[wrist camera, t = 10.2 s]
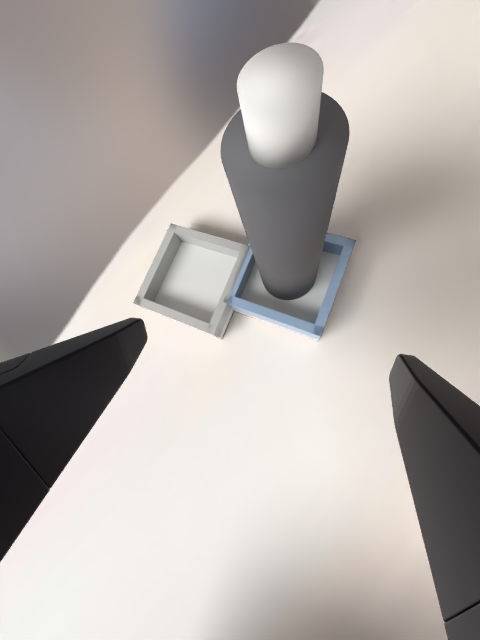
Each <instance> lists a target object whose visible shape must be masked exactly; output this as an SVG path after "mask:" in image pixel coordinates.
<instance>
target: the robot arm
mask: <svg viewBox="0 0 480 640" xmlns="http://www.w3.org/2000/svg"><path fill="white" fill-rule="evenodd" d="M146 342H147V333H146V329H145V325H144V321H143V320H142V319H140V318H129V319H126V320H123V321H120V322H117V323H114V324H112V325H109V326H106V327H103V328H100V329H97V330H94V331H91V332H88V333H86V334H83V335H80V336H77V337H74V338H71V339H68V340H65V341H63V342H60V343H57V344H54V345H51V346H48V347H45V348H42V349H40V350H37V351H34V352H32V353H28V354H25V355H22V356H19V357H16V358H13V359H11V360H7V361H4V362H1V363H0V562H1V560H2V559H3V558H4V556H5V555H6V553H7V552H8V550H9V549H10V547H11V546H12V544H13V543H14V541H15V540H16V539H17V537H18V536H19V534H20V533H21V531H22V530H23V528H24V527H25V525H26V524H27V522H28V521H29V520H30V518H31V517H32V515H33V514H34V512H35V511H36V509H37V508H38V506H39V505H40V503H41V502H42V501H43V499H44V498H45V496H46V495H47V493H48V492H49V490H50V489H49V488H51V487H52V486H53V484H54V483H55V481H56V480H57V478H58V477H59V475H60V474H61V473H62V471H63V470H64V468H65V467H66V465H67V464H68V462H69V461H70V459H71V458H72V456H73V455H74V454H75V452H76V451H77V449H78V448H79V446H80V445H81V443H82V442H83V440H84V439H85V438H86V436H87V435H88V433H89V432H90V430H91V429H92V427H93V426H94V424H95V423H96V421H97V420H98V419H99V417H100V416H101V414H102V413H103V411H104V410H105V408H106V407H107V405H108V404H109V403H110V401H111V400H112V398H113V397H114V395H115V394H116V392H117V391H118V389H119V388H120V386H121V385H122V384H123V382H124V381H125V379H126V378H127V376H128V375H129V373H130V371H131V370H132V368H133V366H134V364H135V362H136V360H137V359H138V357H139V355H140V353H141V351H142V349H143V348H144V346H145V344H146ZM389 382H390V391H391V399H392V407H393V416H394V423H395V428H396V433H397V436H398V440H399V444H400V448H401V452H402V456H403V460H404V464H405V468H406V472H407V476H408V480H409V484H410V488H411V492H412V496H413V500H414V504H415V508H416V512H417V516H418V520H419V524H420V528H421V532H422V536H423V540H424V544H425V548H426V552H427V556H428V560H429V564H430V568H431V572H432V576H433V580H434V584H435V588H436V592H437V596H438V600H439V604H440V608H441V612H442V616H443V620H444V621H445V623H444V625H445V629H446V633H447V637H448V640H480V406H479V405H478V404H476V403H475V402H474V401H472V400H471V399H470V398H468V397H467V396H466V395H465V394H463V393H462V392H461V391H459V390H458V389H457V388H455V387H454V386H453V385H451V384H450V383H449V382H448V381H446V380H445V379H444V378H442V377H441V376H440V375H438V374H437V373H436V372H435V371H433V370H432V369H431V368H429V367H428V366H427V365H425V364H424V363H423V362H421V361H420V360H419V359H418V358H416V357H415V356H412V355H405V354H399V355H398V356H397V357H396V359H395V362H394V365H393V367H392V370H391V372H390V376H389Z"/></svg>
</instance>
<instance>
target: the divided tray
mask: <svg viewBox="0 0 480 640" xmlns="http://www.w3.org/2000/svg"><path fill="white" fill-rule="evenodd" d="M355 241H356V240H353V239H349V238H345V237H341V236H337V235H333V234H329V233H327V234H326V238H325V242H324V246H323V251H322V255H321V259H320V263H319V267H318V272H317V276H316V280H315V283H314V285H313V287H312V288H311V290H310V291H309V292H308V293H307V294H305V295H304V296H302V297H301V298H298V299H295V300H281V299H278V298H276V297H274V296H272V295H271V294H270V293H269V292H268V291H267V290H266V289H265V287H264V285H263V282H262V279H261V276H260V273H259V270H258V267H257V264H256V261H255V258H254V255H253V252H252V249H251V246H250V243H249V242H248V245H245V244H241V243H238V242H234V241H231V240H227V239H224V238H220V237H217V236H213V235H210V234H206V233H203V232H199V231H196V230H192V229H189V228H185V227H181V226H178V225H174V224H171V225H170V227H169V229H168V231H167V233H166V235H165V237H164V239H163V241H162V244H161V246H160V248H159V250H158V252H157V254H156V256H155V258H154V260H153V262H152V265H151V267H150V269H149V271H148V273H147V275H146V277H145V279H144V281H143V283H142V285H141V288H140V290H139V292H138V294H137V296H136V298H135V300H134V302H133V303H134V304H137V305H139V306H141V307H143V308H145V309H147V310H149V311H152V312H154V313H157V314H159V315H162V316H164V317H167V318H169V319H172V320H174V321H177V322H179V323H182V324H184V325H187V326H189V327H192V328H194V329H197V330H199V331H202V332H204V333H207V334H209V335H212V336H214V337H217V338H219V339H222V337H223V335H224V333H225V330H226V328H227V326H228V323H229V321H230V318H231V316H232V314H233V311H236V312H239V313H241V314H244V315H247V316H250V317H252V318H255V319H258V320H261V321H263V322H266V323H269V324H272V325H274V326H277V327H280V328H283V329H285V330H288V331H291V332H294V333H296V334H299V335H302V336H305V337H308V338H310V339H313V340H316V341H318V340H319V339H320V337H321V335H322V332H323V329H324V326H325V324H326V321H327V318H328V315H329V313H330V310H331V307H332V304H333V302H334V299H335V296H336V293H337V291H338V288H339V285H340V282H341V280H342V277H343V274H344V271H345V269H346V266H347V263H348V261H349V258H350V255H351V252H352V250H353V247H354V244H355Z"/></svg>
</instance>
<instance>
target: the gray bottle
mask: <svg viewBox="0 0 480 640" xmlns="http://www.w3.org/2000/svg"><path fill="white" fill-rule="evenodd" d="M322 80H323V62H322V60H321V58H320V56H319V54H318V53H317V52H316V51H315V50H313V49H312V48H310V47H308V46H306V45H303V44H299V43H282V44H277V45H274V46H271V47H268V48H266V49H264V50H262V51H261V52H259V53H257V54H256V55H255V56H253V57H252V58H251V59H250V60H249V61H248V62H247V63H246V65H245V66H244V67H243V69H242V70H241V72H240V74H239V77H238V81H237V92H238V97H239V102H240V107H241V109H240V110H239V111H238V112H237V113H236V115H235V116H234V117H233V118H232V120H231V121H230V123H229V124H228V126H227V128H226V130H225V132H224V135H223V138H222V142H221V159H222V163H223V166H224V169H225V172H226V175H227V178H228V181H229V184H230V187H231V190H232V193H233V196H234V199H235V202H236V205H237V208H238V211H239V214H240V217H241V220H242V223H243V226H244V229H245V232H246V235H247V237H248V240H249V243H250V246H251V249H252V252H253V255H254V258H255V261H256V264H257V267H258V270H259V273H260V276H261V279H262V282H263V285H264V287H265V289H266V290H267V291H268V292H269V293H270V294H271V295H272V296H274V297H276V298H278V299H281V300H295V299H298V298H301V297H302V296H304V295H305V294H307V293H308V292H309V291H310V290H311V288H312V287H313V285H314V283H315V280H316V276H317V272H318V267H319V263H320V259H321V255H322V251H323V246H324V242H325V238H326V234H327V230H328V225H329V221H330V217H331V213H332V209H333V204H334V200H335V196H336V192H337V187H338V183H339V179H340V175H341V171H342V166H343V162H344V158H345V154H346V150H347V145H348V141H349V124H348V119H347V117H346V114H345V112H344V111H343V109H342V107H341V106H340V105H339V104H338V103H337V102H336V101H335V100H334V99H333V98H331V97H330V96H328V95H326V94H325V93H322V92H321V91H322Z"/></svg>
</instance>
